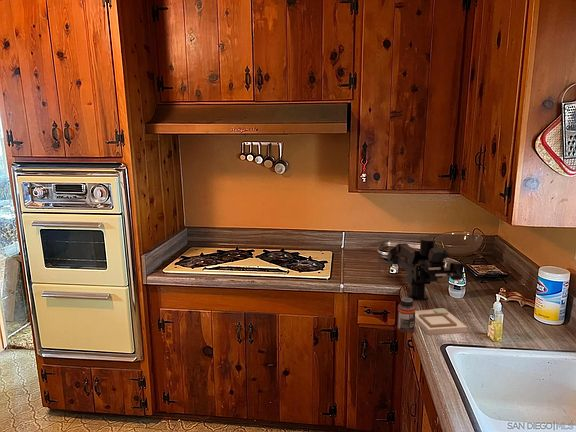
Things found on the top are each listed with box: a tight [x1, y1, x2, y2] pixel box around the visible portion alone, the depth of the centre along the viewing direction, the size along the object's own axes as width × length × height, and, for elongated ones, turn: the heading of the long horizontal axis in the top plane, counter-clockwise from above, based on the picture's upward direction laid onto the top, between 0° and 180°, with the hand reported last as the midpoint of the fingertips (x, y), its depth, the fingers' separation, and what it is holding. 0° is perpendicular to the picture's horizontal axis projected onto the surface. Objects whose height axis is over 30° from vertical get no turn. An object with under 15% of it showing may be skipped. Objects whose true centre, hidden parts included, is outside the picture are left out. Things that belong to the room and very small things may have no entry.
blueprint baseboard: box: [415, 307, 468, 336], centre depth 155 cm, size 16×14×3 cm
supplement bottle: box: [396, 297, 416, 334], centre depth 150 cm, size 6×6×11 cm
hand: (449, 279), depth 154 cm, fingers open, 9 cm apart
